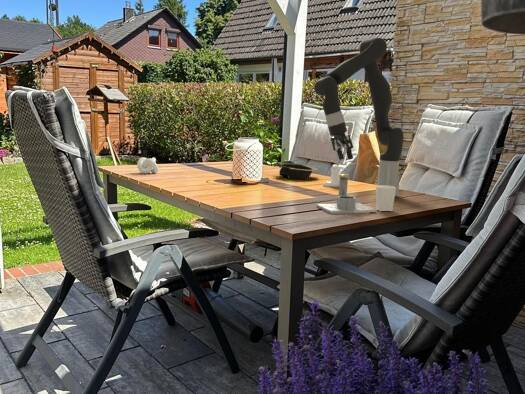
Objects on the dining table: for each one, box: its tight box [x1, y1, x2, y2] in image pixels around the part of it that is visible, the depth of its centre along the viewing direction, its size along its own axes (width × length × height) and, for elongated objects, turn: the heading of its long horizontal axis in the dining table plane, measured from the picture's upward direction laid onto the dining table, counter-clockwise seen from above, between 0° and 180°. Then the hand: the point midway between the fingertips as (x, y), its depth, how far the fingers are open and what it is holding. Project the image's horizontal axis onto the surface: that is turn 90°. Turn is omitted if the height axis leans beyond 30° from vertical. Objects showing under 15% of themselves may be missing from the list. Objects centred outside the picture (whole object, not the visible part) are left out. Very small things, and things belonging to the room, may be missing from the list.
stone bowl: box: [276, 160, 318, 180], centre depth 290 cm, size 25×25×9 cm
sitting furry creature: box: [322, 164, 342, 188], centre depth 261 cm, size 10×9×12 cm
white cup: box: [375, 184, 396, 212], centre depth 203 cm, size 8×8×10 cm
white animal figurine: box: [137, 157, 159, 175], centre depth 285 cm, size 11×12×9 cm
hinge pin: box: [338, 173, 350, 196], centre depth 220 cm, size 5×5×12 cm
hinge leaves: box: [316, 195, 377, 215], centre depth 202 cm, size 20×14×5 cm
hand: (346, 159), depth 215 cm, fingers open, 8 cm apart
